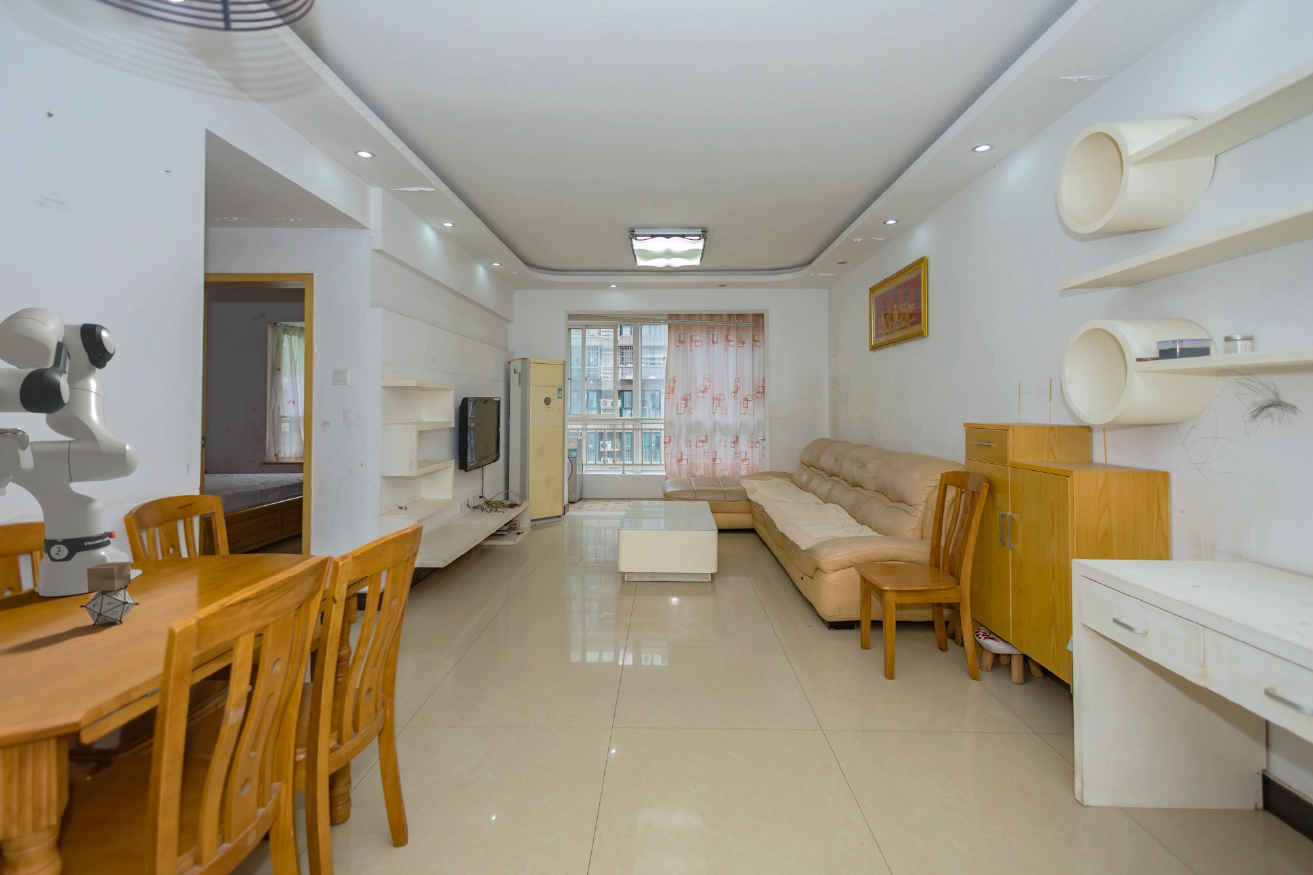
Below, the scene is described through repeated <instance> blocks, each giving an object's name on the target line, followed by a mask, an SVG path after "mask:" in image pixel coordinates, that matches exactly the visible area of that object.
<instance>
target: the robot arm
mask: <svg viewBox="0 0 1313 875" xmlns="http://www.w3.org/2000/svg"><path fill="white" fill-rule="evenodd" d="M115 342H116V341H115V339H114V337H113V335H112V333H111V331H109V330H108V328H106V327H105V326H103V325H101V324H98V323H89V322H88V323H86V322H85V323H82V324H64V322H63V320H62V319H61V318H60V317H59V316H58V315H57V314H55V313H54V312H52V311H50V310H48V309H45V308H41V307H28V308H26V307H25V308H22V309H20V310H18V311H16V312H13V313H12V314H10V315H9V316H7V317H6V318H5V319H4V320H2V321H1V322H0V360H2V361H3V362H5V363H6V364H9V365H11V366H14V367H15V368H12V367H11V368H10V367H9V368H7V367H0V413H32V414H45V422H46V425H47V427H49V429H50V430H52V431H54V432H55V433H57V434H59V435H61V436H63V437H67V438H69V439H70V440H67V439H66V440H35V441H30V436H29V434H28V433H27V432H26V431H24V430H23V429H22V430H21V429H20V428H18V427H17V428H15V427H12V428H2V427H0V497H2V496H6V495H7V486H8V485H9V484H10V483H12V484H15V485H17V486H19V487H21V488H22V489H24V490H26V491H27V492H28V493H29V494H31V495H32V496H33V497H34V498H35V500H36V501H37V502H38V505H39V506H40V508H41V512H42V516H43V522H44V523H43V524H44V533H45V535H44V536H45V538H43V541H42V542H43V543H42V547H43V553H45V555H44V556H43V558H42V559H41V560H40V562H39V563H40V565H39V574H38V575H39V578H38V586H36V587H34V589H35V590H33V591H36V592H35V593H38V595H39V596H41V597H62V596H73V595H79V594H85V593H89V592H88V580H87V568H90V567H93V566H96V565H99V564H102V563H109V562H130V563H131V561H130V556H129V555H128V554H127V553H125V552H123V551H122V550H120V549H118V548H117V547H115V546H113V545H112V542H111V540H110V539H116V537H117V535H118V534H117V531H116V530H112V531H110V530H107V531H106V528H105V527H106V526H105V507H104V505H103V503H102V502H101V501H100V500H99V499H98V498H95V497H92V496H88V495H86V494H82V493H78V492H76V491H74V490H73V489H72V487H71V484H72V483H84V482H104V481H106V482H107V481H112V480H115V479H116V480H117V479H121V478H122V479H123V478H127V477H129V476H130V475H132V474H133V473H134V472H135V471H136V469H137V467H138V466H139V461H140V457H139V454H138V451H137V449H136V448H135V447H134V446H133V445H132V443H130V442H129V441H126V440H124V439H122V438H120V437H118V436H116V435H115V434H114V433H112V431H111V430H110V429H109V427H107V424H106V422H105V408H104V407H105V393H104V385H103V381H102V377H101V375H100V373H99V372H98V370H103V369H104V368H106V366H107V364H108V362H109V361H111V360H112V359H113V357H114V355H115V353H116V344H115ZM109 363H110V362H109ZM97 369H98V370H97ZM141 574H143V571H142V570H141V569H137V568H136V569H135V568H130V575H131V580H133V579H135V578H136V577H138V576H141Z"/></svg>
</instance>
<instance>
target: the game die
mask: <svg viewBox="0 0 1313 875" xmlns="http://www.w3.org/2000/svg"><path fill="white" fill-rule="evenodd" d="M128 587H129V585H126V586H124V587H122V588H119V589H117V590H111V591H97V593H96V594H95V595H93V597H92V598H91V599H90V600H89V601H88V602H87V603H86V604H85V605H84V604H83V605H82V604H81V605H79V606H78V607H79V608H85V610H86V611H87V613H88V614H89V616H90V618H91V619H92V621H93V622H94V623H92V625H91V627H92V628H93V627H96V625H97V624H102V623H103V624H104V623H111V622H119V624H122V625H123V620H122V619H124V617H125V616H127V614H128V613H129V612H130V611H131V609H132V608H133V607H135V606H138V605H140V602H134V599H133V597H132V596H131V595H130V593H129V592H128V589H127V588H128Z"/></svg>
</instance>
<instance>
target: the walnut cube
mask: <svg viewBox="0 0 1313 875" xmlns="http://www.w3.org/2000/svg"><path fill="white" fill-rule="evenodd" d="M130 569H131V561H130V562H109V563H102V564H99V565H96V566H93V567H90V568H87V580H88V592H87V593H91V592H99V591H111V590H117V589H119V588H124V587H125V586H126V585H128V586H129V585H131V584H132V581H131V580H132V579H131V575H130Z"/></svg>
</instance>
